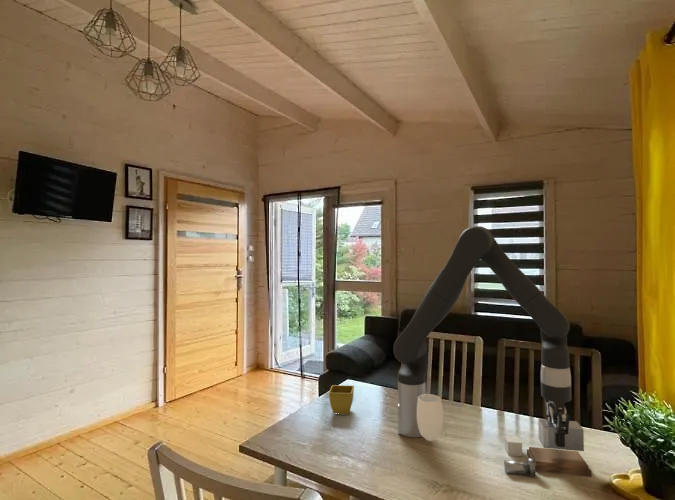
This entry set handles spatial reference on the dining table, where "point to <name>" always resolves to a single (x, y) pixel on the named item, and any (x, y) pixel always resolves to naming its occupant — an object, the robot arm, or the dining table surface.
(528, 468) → the bolt
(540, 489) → the dining table surface
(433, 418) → the cup
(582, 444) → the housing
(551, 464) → the stand
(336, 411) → the flower pot
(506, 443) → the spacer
